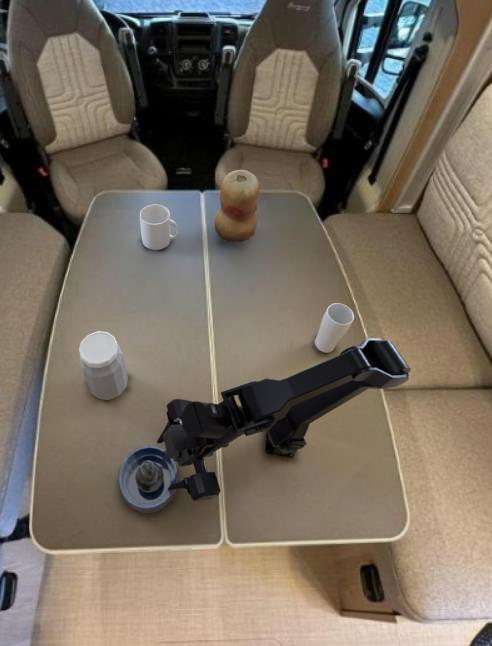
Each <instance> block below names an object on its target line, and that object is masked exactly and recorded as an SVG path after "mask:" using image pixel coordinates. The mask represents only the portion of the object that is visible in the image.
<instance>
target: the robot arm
mask: <svg viewBox="0 0 492 646" xmlns="http://www.w3.org/2000/svg"><path fill="white" fill-rule="evenodd" d="M411 370H412V369H411V368H410V366H409V364H408V363H407V361H406V360H405V358H404V356H403V355H401V353H400V351H399V350H398V349H397V347H396V346H395V344H394V343H393V341H392V340H389V339H386V340H384V339H383V338H381V337H367V338H365V340H363V341H362V342H361V343H360V344H358V345H353V346H350V347H347V348H345V349H344V350H342V351H341V352H340V353H339V355H336V356H334V357H332V358H330V359H327V360H325V361H323V362H320V363H317V364H316V365H313V366H311V367H308V368H306V369H303V370H302V371H299V372H296V373H295V374H293V375H289V376H288V377H285V378H283V379H280V380H279V379H274V378H263V379H261V380H255V381H254V380H253V381H249V382H246V383H243V384H240V385H238V386H234V387H232V388H229V389H226V390H223V391H221V392H220V395H221V399H222V400H221V402H218V403H214V402H203V401H197V400H196V401H195V400H194V401H192V400H189V399H181V398H174V399H171V400H170V401H169V402H168V403H167V404H166V409H167V411H166V417H167V422H166V424H165V427H164V429H163V430H162V432H161V434H160V435H159V437H158V438H157V440H156V444H162V443H164V446H165V451H166V453H167V455H168V457H169V458H171V459H173V460H174V462H177V464H178V467H186V466H191V465H193V467H194V471H195V473H193V474H191V475H190V476H188V477H184V478H183V480H179V482H177V483H175V484H173V485H171V486H170V487H168V490H175V489H176V490H186V492H187V494H188V495H189V496H190V498H191V500H192V501H193V502H200V501H211V500H214V499H216V498H218V497H220V494H221V487H220V484H219V480H218V478H217V475H216V474H217V473H216V472H215V471H208V468H207V465H206V462H205V459H206V458H210V457H212V456H214V453H216V452H217V451H219V450H220V449H223V448H227V447H229V446H230V445H229V444H230V443H232V442H233V441H235V440H236V439H239V438H240V437H242V436H243V435H245V437H249V436H252V435H253V436H254V435H256V434H260V433H263V432H265V443H264V444H265V446H264V447H265V448H264V453H265V454H267V455H270V456H278V457H285V458H291V459H292V458H294V457H295V455H296V454H297V452H298V450H301V449H304V447H305V446H307V444H308V443H307V441H306V439H305V436H306V434H307V431H308V430H309V427H310V424H312V423H313V422H315V421H317V420H318V419H320V418H322V417H323V416H326V415H327V414H329V413H330V412H332V411H334V410H335V409H337V408H339V407H340V406H342V405H343V404H345V403H347V402H349V401H350V400H352V399H353V398H356V397H358V396H359V395H361V394H362V393H364V392H366V391H367V390H369V389H370V390H371V389H372V390H388V389H389V388H391V389H392V388H396V387H399V386H401V385H403V384H405V383H406V382H407V381H409V379H410V378H409V376H410V374H409V373H410V372H411ZM235 397H237V399H238V401H239V403H240V405H238V403H237V401H236V398H235Z"/></svg>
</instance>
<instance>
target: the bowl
mask: <svg viewBox="0 0 492 646" xmlns="http://www.w3.org/2000/svg"><path fill="white" fill-rule="evenodd" d="M146 460H150V461H152V462H153V463H156V464H158V465H159V466H160V467H161V469H162V471H163V477H164V478H163V482H162V486H161V488H160V490H159V491H158V492H157V493H155V494H153V495H147V494H144V493H143V492H142V491H141V490H140V489H139V488H138V486H137V484H136V477H135V476H136V472H137V470H138V469H139V468H140V466H141V465H142V463H143V462H144V461H146ZM175 483H178V469H177V465H176V461H174V459H171V458H169V457H168V455H167V453H166V449H163V448H162V447H160V446H156V445H144V446H140V447H138V448H136V449H134V450H132V451H131V452H130V453H129V454H128V455H126V457H125V458H124V459H123V462H122V463H121V465H120V470H119V474H118V486H119V489H120V492H121V494H122V496H123V499H124V501H125V502H126V503H127V504H128V506H129V507H130V508H131V509H133V510H134V511H136V512H138V513H143V514H152V513H157V512H159V511H161V510H163V509H164V508H166V507H167V506H168V505H169V504H170V503H171V501H173V499H174V497H175V494H176V492H177V489H175V490H168V487H170V486H171V485H173V484H175Z"/></svg>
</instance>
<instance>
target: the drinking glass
mask: <svg viewBox="0 0 492 646" xmlns="http://www.w3.org/2000/svg"><path fill="white" fill-rule="evenodd" d="M354 319H355V314H354V312H353V310H352V309H351V308H350V307H349V306H348V305H346V304H345V303H344V304H343V303H340V302H335V303H330V305H328V307H327V308H326V310H325V312H324V314H323V316H322V319H321V322H320V326H319V329H318V333H317V335H316V338H315V340H314V345H315V347H316V349H317V350H318V351H320V352H321V353H327V354H328V353H332V351H334V350H335V348H336V346H337V345H338V344H339V342H340V341H341V340H342V339H343V337H344V336H345V335H346V334H347V332H348V331H349V329H350V328H351V326H352V324H353V322H354Z"/></svg>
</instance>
